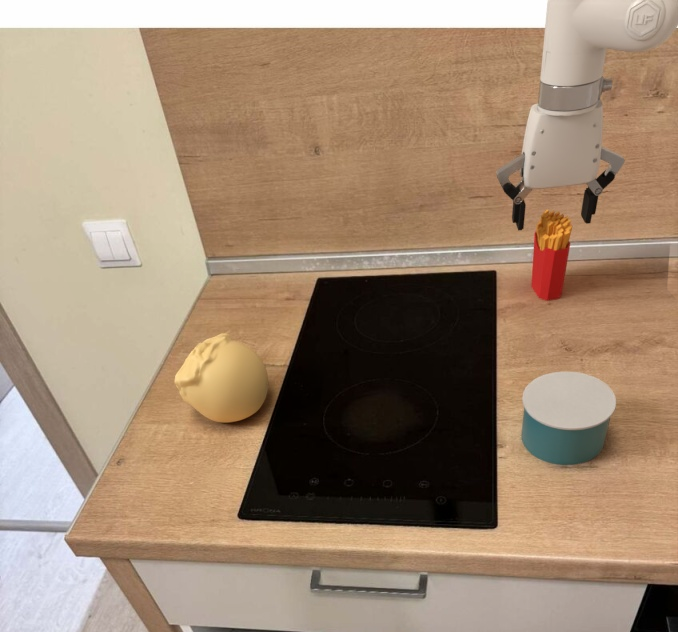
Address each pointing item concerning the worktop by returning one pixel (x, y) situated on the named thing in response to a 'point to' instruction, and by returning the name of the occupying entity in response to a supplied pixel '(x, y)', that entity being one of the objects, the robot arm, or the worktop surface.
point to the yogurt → (566, 417)
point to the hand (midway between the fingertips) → (552, 222)
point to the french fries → (550, 255)
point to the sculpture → (223, 379)
